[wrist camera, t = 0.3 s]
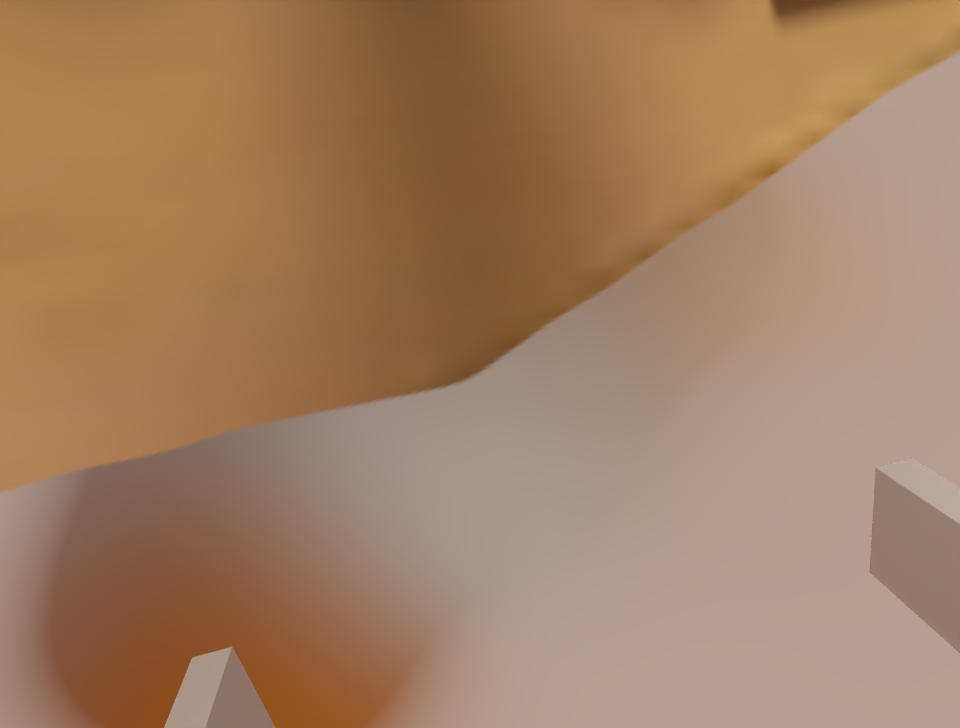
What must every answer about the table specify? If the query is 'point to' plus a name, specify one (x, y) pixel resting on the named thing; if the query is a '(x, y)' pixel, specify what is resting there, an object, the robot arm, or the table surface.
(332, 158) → the table surface
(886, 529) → the robot arm
